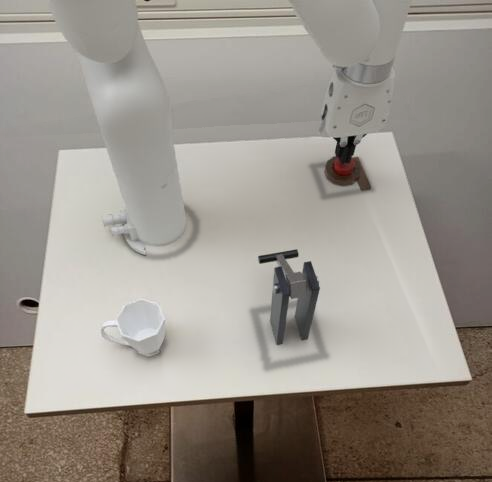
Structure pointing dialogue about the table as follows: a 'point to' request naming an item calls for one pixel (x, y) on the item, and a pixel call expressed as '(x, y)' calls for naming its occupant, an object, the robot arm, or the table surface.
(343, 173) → the button
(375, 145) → the table surface
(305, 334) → the bracket
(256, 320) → the table surface
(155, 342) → the cup
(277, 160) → the table surface
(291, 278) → the lever
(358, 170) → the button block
